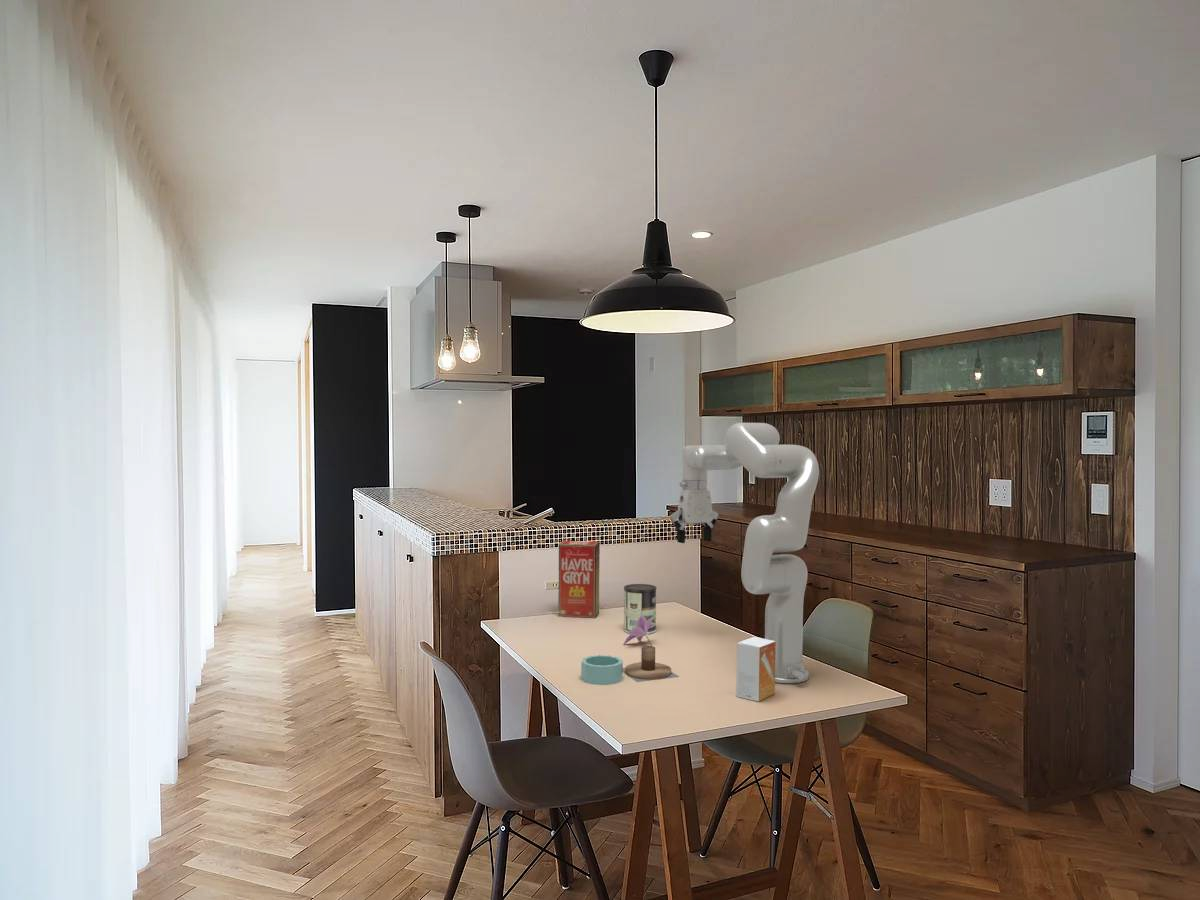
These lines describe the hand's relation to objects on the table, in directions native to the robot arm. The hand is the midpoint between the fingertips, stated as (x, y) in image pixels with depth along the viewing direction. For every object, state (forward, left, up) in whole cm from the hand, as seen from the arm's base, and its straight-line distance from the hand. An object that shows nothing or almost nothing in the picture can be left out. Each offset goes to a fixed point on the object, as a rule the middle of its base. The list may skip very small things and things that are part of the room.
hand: (694, 541), depth 244 cm
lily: (-1, +18, -30) cm, 35 cm away
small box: (-52, +12, -30) cm, 62 cm away
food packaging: (+43, +21, -30) cm, 56 cm away
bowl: (-28, +42, -30) cm, 59 cm away
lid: (-28, +29, -29) cm, 50 cm away
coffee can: (+15, +11, -30) cm, 35 cm away
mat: (-28, +29, -30) cm, 50 cm away
